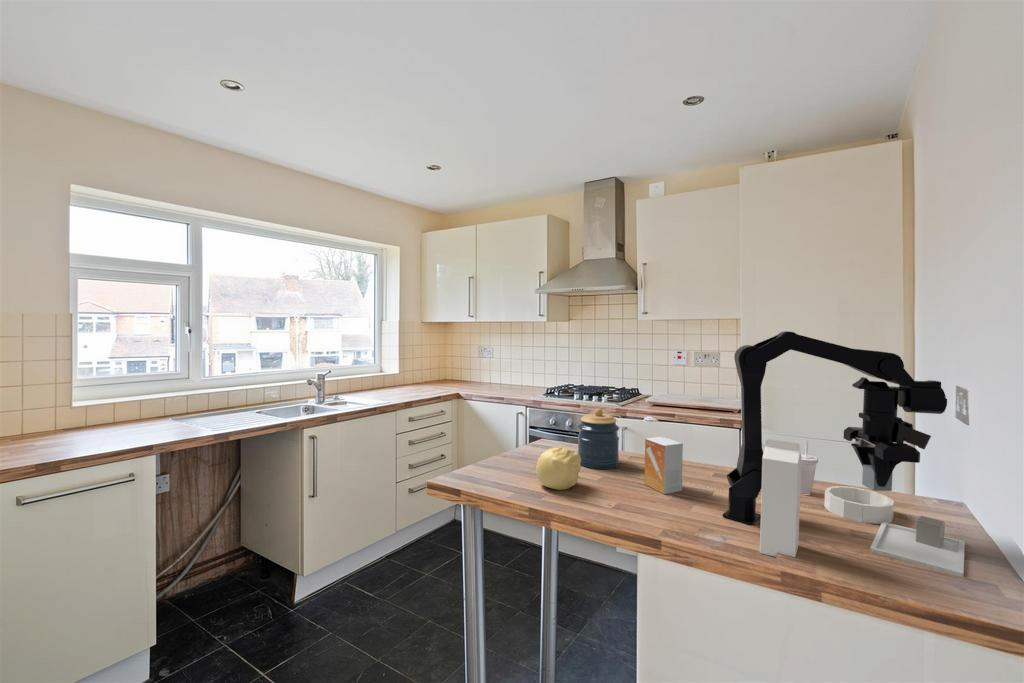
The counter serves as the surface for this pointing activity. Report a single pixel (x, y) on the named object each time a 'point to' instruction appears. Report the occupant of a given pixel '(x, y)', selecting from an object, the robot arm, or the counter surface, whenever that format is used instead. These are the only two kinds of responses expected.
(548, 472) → the dough ball
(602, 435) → the canister
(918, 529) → the grey block
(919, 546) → the tray
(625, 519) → the counter surface
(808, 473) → the smoothie
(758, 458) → the robot arm
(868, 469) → the grey block
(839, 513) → the bowl
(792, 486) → the milk
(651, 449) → the small box
